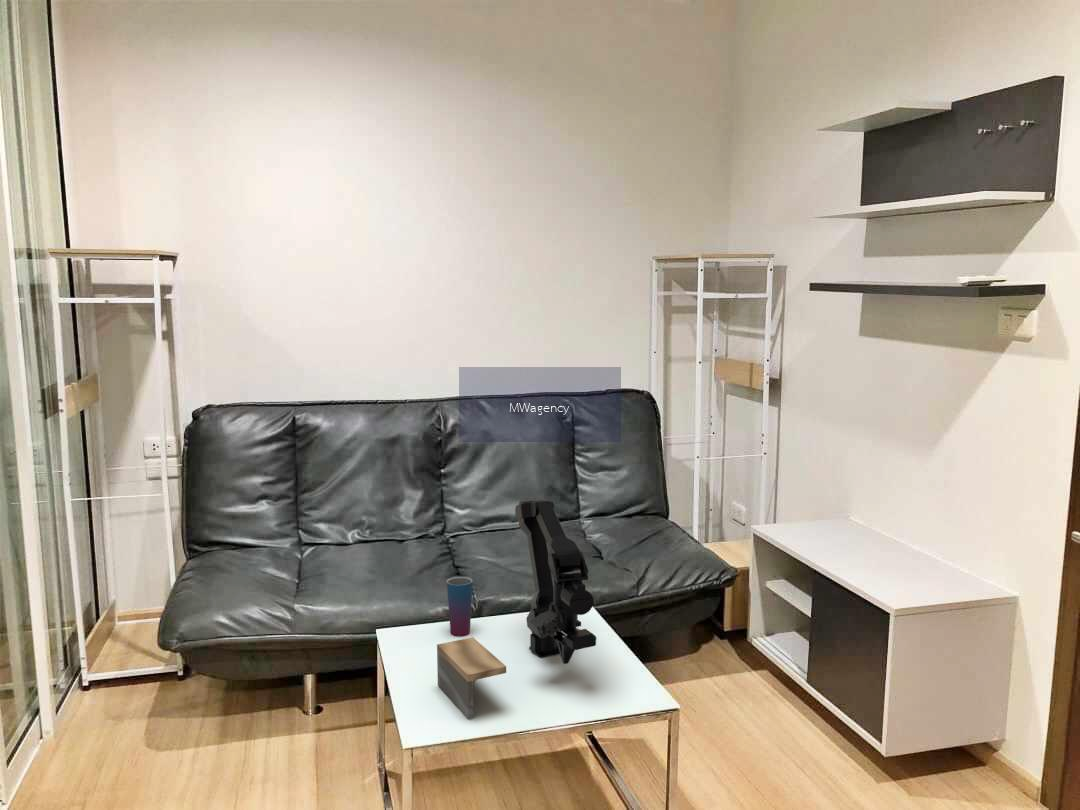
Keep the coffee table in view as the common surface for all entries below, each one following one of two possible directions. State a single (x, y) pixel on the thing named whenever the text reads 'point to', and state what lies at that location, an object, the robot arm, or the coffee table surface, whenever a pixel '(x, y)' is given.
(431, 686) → the coffee table surface
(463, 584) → the cup
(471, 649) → the block
